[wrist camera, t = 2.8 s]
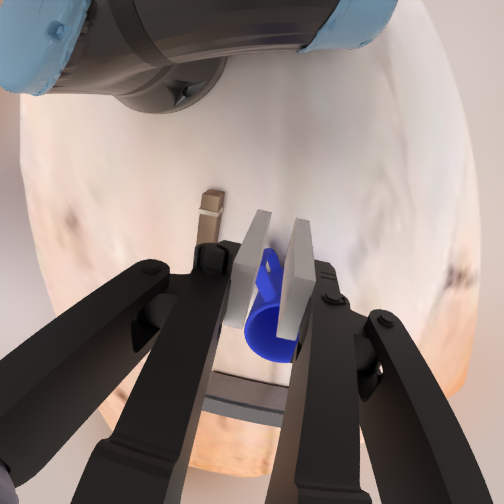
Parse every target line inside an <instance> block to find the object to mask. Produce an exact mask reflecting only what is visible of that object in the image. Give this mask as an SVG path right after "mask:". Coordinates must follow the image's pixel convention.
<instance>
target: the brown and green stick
mask: <svg viewBox="0 0 504 504" xmlns="http://www.w3.org/2000/svg"><path fill="white" fill-rule="evenodd" d="M223 200H224V192H219V191H214V190H207V191H206V192H204V193H203V194H202V200H201V207H200V208H199V210H198V213H200V216H199V225H198V234H197V243H196V246H197V245H198V244H202V243H210V242H211V243H217V240H218V233H219V226H220V219H221V213H222V211H223V208H224V207H223ZM193 260H194V256H193Z"/></svg>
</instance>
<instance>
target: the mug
mask: <svg viewBox="0 0 504 504" xmlns="http://www.w3.org/2000/svg"><path fill="white" fill-rule="evenodd" d="M267 261H268V263H269V266H270V269H271V273H269V274H268V272H267V269H266V262H267ZM283 274H284V268H281V266H280V263H279V260H278V257H277V255H276V253H275V251H274V250H273V249H272V248H267V249H264V251H263V256H262V260H261V263H260V267H259V271H258V274H257V278H256V282H255V283H256V285H257V288H258V290H259V291H258V294H257V296H256V299H255V301H254V304H253V306H252V309H251V311H250V313H249V316H248V318H247V321H246V323H245V328H244V334H245V339H246V341H247V343H248V345H249V347H250V348H251V349H252V350H253V351H254V352H255V353H256V354H258V355H259V356H261V357H262V358H264V359H267V360H270V361H273V362H279V363H290V360H291V358H292V355H293V353H294V350H295V347H296V345H297V342H298V339H299V332H298V335H297V338H296V341H293V340H288V339H283V338H279V337H276V335H277V327H278V319H279V310H280V302H281V293H282V284H283Z"/></svg>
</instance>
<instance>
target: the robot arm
mask: <svg viewBox="0 0 504 504" xmlns="http://www.w3.org/2000/svg"><path fill="white" fill-rule="evenodd" d="M397 2H398V0H4V2H3V4H2V6H1V8H0V86H1V87H2V88H3V89H5V90H6V91H9V92H13V93H26V94H31V95H34V96H39V95H44V94H52V93H73V94H101V95H112V96H114V97H115V98H116V99H117V100H119V101H120V102H121V103H123V104H124V105H125V106H127V107H129V108H131V109H133V110H136V111H139V112H143V113H151V114H165V113H172V112H176V111H179V110H182V109H184V108H187V107H189V106H191V105H192V104H194V103H196V102H197V101H198V100H200V99H201V98H202V97H203V96H205V95H206V94H207V93H208V92H209V91H210V90H211V88H212V87H213V86H214V85H215V83H216V82H217V80H218V79H219V77H220V75H221V73H222V71H223V69H224V66H225V63H226V59H227V56H229V55H238V54H248V53H260V52H277V51H296V52H297V53H307V52H310V51H312V50H323V49H356V48H360V47H363V46H365V45H366V44H368V43H369V42H371V41H372V40H373V39H374V38H376V37H377V36H378V35H379V34H380V33H381V32H382V31H383V29H384V28H385V26H386V25H387V23H388V22H389V20H390V18H391V16H392V14H393V12H394V10H395V7H396V4H397ZM271 214H272V212H268V211H263V210H257V213H256V215H255V217H254V219H253V221H252V223H251V225H250V228H249V230H248V232H247V234H246V236H245V238H244V240H243V243H242V244H240V243H235V242H231V241H226V240H223V241H221V242H219V243H211V242H210V243H202V244H198V245H197V246H196V247H195V252H194V262H193V269H192V271H191V273H190V274H170V267H169V266H168V265H167V264H166V263H164V262H162V261H159V260H155V259H153V260H152V259H147V260H142V261H140V262H137V263H135V264H134V265H132V266H131V267H129V268H128V269H126V270H125V271H123V272H122V273H120V274H119V275H117V276H116V277H114V278H113V279H111V280H110V281H108V282H107V283H105V284H104V285H102V286H101V287H99V288H98V289H96V290H95V291H94V292H92V293H91V294H89V295H88V296H86V297H85V298H83V299H82V300H81V301H79V302H78V303H76V304H75V305H73V306H72V307H71V308H69V309H68V310H66V311H65V312H64V313H62V314H61V315H59V316H58V317H57V318H55V319H54V320H53V321H51V322H50V323H48V324H47V325H46V326H44V327H43V328H42V329H40V330H39V331H38V332H36V333H35V334H34V335H32V336H31V337H30V338H28V339H27V340H26V341H24V342H23V343H22V344H21V345H19V346H18V347H17V348H16V349H14V350H13V351H11V352H10V353H9V354H8V355H6V356H5V357H4V358H3V359H1V360H0V504H19V499H18V496H17V494H16V492H15V488H17V487H19V486H21V485H22V484H24V483H25V482H27V481H28V480H29V479H31V478H32V477H34V476H35V475H36V474H37V473H38V472H39V471H40V470H41V469H42V468H43V467H44V466H45V465H46V464H47V463H48V462H49V461H50V460H51V459H52V457H53V456H54V455H55V454H56V453H57V452H58V451H59V450H60V449H61V447H62V446H63V445H64V444H65V443H66V442H67V441H68V440H69V439H70V437H71V436H72V435H73V434H74V433H75V432H76V431H77V430H78V428H79V427H80V426H81V425H82V424H83V423H84V422H85V421H86V420H87V419H88V417H90V415H91V414H92V413H93V412H94V411H95V410H96V409H97V408H98V407H99V406H100V404H101V403H102V402H103V401H104V400H105V399H106V398H107V397H108V396H109V395H110V394H111V392H112V391H113V390H114V389H115V388H116V387H117V386H118V385H119V384H120V383H121V382H122V380H123V379H124V378H125V377H126V376H127V375H128V374H129V373H130V372H131V371H132V370H133V368H134V367H135V366H136V365H137V364H138V363H139V362H140V361H141V360H142V359H143V358H144V356H145V355H146V354H147V353H148V352H149V351H150V350H151V351H150V353H149V355H148V358H147V360H146V362H145V364H144V366H143V368H142V370H141V372H140V374H139V376H138V378H137V381H136V383H135V385H134V387H133V389H132V391H131V393H130V396H129V398H128V400H127V402H126V404H125V407H124V409H123V411H122V413H121V415H120V418H119V420H118V422H117V424H116V427H115V429H114V431H113V433H112V435H111V436H110V437H109V438H106V439H102V440H100V441H99V442H98V443H97V444H96V446H95V448H94V450H93V451H92V453H91V456H90V458H89V460H88V462H87V465H86V467H85V469H84V472H83V474H82V476H81V479H80V481H79V484H78V486H77V488H76V491H75V493H74V496H73V498H72V501H71V503H70V504H180V500H181V494H182V489H183V485H184V481H185V476H186V472H187V468H188V464H189V460H190V455H191V451H192V447H193V443H194V439H195V435H196V431H197V426H198V422H199V418H200V414H201V410H202V406H203V402H204V398H205V394H206V390H207V386H208V381H209V377H210V373H211V369H212V365H213V361H214V357H215V353H216V349H217V345H218V341H219V337H220V333H221V328H222V322H223V319H224V322H223V325H226V326H230V327H234V328H239V329H243V325H244V322H245V318H246V314H247V311H248V307H249V304H250V300H251V296H252V293H253V289H254V285H255V282H256V278H257V274H258V271H259V267H260V263H261V260H262V256H263V251H264V246H265V242H266V237H267V232H268V228H269V223H270V218H271ZM298 332H299V339H298V342H297V345H296V347H295V350H294V353H293V355H292V358H291V360H290V363H293V365H292V371H291V377H290V383H289V389H288V394H287V400H286V405H285V411H284V416H283V422H282V427H281V432H280V437H279V442H278V447H277V451H276V456H275V461H274V465H273V470H272V474H271V479H270V483H269V487H268V491H267V496H266V500H265V504H372V500H371V497H370V495H369V493H367V492H365V491H363V490H361V487H360V481H359V480H360V478H359V477H360V427H361V430H362V433H363V437H364V440H365V444H366V447H367V451H368V454H369V458H370V461H371V464H372V469H373V472H374V476H375V479H376V484H377V487H378V491H379V495H380V499H381V503H382V504H493V501H492V499H491V496H490V493H489V490H488V488H487V485H486V483H485V480H484V478H483V475H482V473H481V470H480V468H479V466H478V463H477V461H476V459H475V456H474V454H473V452H472V450H471V448H470V445H469V443H468V441H467V439H466V437H465V435H464V433H463V431H462V428H461V426H460V424H459V422H458V420H457V418H456V416H455V414H454V412H453V411H452V409H451V407H450V405H449V403H448V401H447V399H446V397H445V395H444V393H443V392H442V390H441V388H440V386H439V384H438V382H437V381H436V379H435V377H434V375H433V374H432V372H431V370H430V368H429V367H428V365H427V363H426V361H425V360H424V358H423V356H422V355H421V353H420V351H419V350H418V348H417V346H416V345H415V343H414V341H413V340H412V338H411V337H410V335H409V333H408V332H407V330H406V329H405V327H404V325H403V324H402V322H401V321H400V320H399V318H398V317H397V316H395V315H394V314H393V313H391V312H388V311H386V310H381V309H376V310H373V311H371V312H370V314H369V316H368V317H366V316H363V315H361V314H358V313H356V312H354V311H352V310H351V309H350V303H349V301H348V299H347V298H346V297H345V296H344V295H342V294H341V293H340V290H339V285H338V281H337V276H336V272H335V269H334V268H333V266H332V265H331V264H330V263H327V262H323V261H319V260H314V256H313V247H312V238H311V230H310V221H307V220H303V219H299V218H296V219H295V223H294V228H293V232H292V236H291V240H290V244H289V248H288V252H287V256H286V260H285V265H284V274H283V284H282V293H281V302H280V310H279V319H278V327H277V335H276V337H279V338H283V339H288V340H293V341H296V338H297V335H298ZM381 365H382V368H383V373H381V371H380V369H379V367H380V366H381ZM359 423H360V424H359Z"/></svg>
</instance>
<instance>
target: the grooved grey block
mask: <svg viewBox="0 0 504 504" xmlns="http://www.w3.org/2000/svg"><path fill="white" fill-rule="evenodd" d="M288 389H289V388H283V387H278V386H273V385H268V384H263V383H258V382H253V381H249V380H244V379H240V378H236V377H232V376H227V375H223V374H220V373H216V372H212V371H211V373H210V377H209V381H208V386H207V390H206V394H205V398H204V402H203V406H202V410H203V411H206V412H210V413H214V414H218V415H222V416H226V417H230V418H234V419H239V420H243V421H248V422H253V423H258V424H263V425H269V426H274V427H280V428H281V427H282V422H283V416H284V411H285V405H286V400H287V394H288Z"/></svg>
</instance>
